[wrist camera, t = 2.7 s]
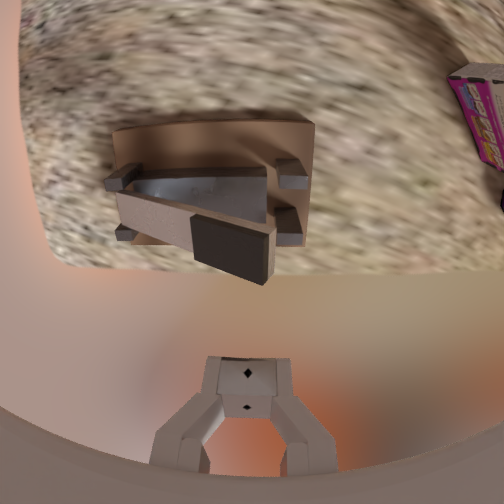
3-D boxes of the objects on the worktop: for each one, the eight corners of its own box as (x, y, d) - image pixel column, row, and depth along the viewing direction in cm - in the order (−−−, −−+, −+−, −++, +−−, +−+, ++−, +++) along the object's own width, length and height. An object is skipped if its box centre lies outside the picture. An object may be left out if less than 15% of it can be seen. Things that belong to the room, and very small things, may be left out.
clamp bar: (128, 221, 23) (116, 227, 22) (122, 188, 22) (109, 194, 21) (274, 273, 17) (262, 286, 16) (276, 228, 16) (263, 239, 14)
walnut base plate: (137, 235, 30) (131, 244, 29) (120, 128, 24) (111, 132, 22) (302, 236, 30) (304, 246, 28) (311, 121, 24) (315, 124, 22)
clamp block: (135, 217, 27) (115, 243, 23) (126, 163, 24) (101, 181, 20) (295, 217, 27) (302, 245, 22) (299, 159, 24) (308, 176, 19)
